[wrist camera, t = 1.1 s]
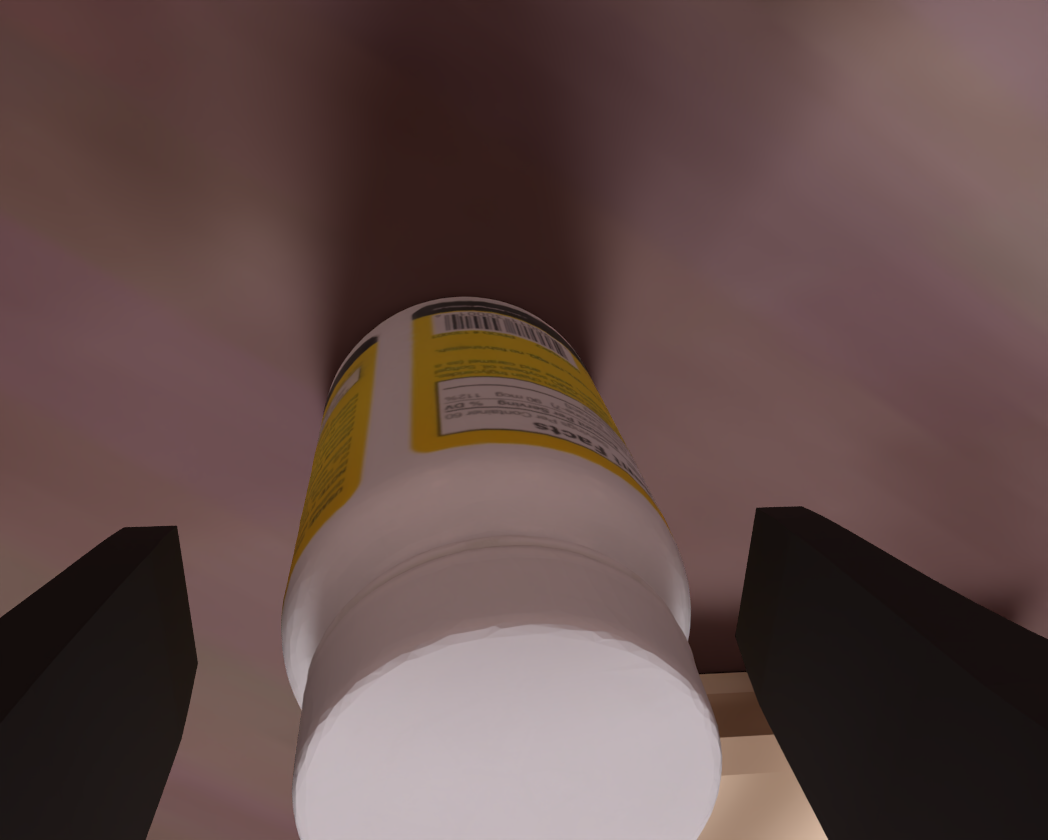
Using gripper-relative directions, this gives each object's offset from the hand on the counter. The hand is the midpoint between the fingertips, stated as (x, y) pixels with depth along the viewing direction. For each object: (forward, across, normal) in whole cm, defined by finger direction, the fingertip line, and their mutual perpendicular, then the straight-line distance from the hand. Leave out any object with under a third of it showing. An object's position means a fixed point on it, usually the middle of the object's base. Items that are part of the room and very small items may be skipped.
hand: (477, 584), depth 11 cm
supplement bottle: (+5, 0, 0) cm, 5 cm away
